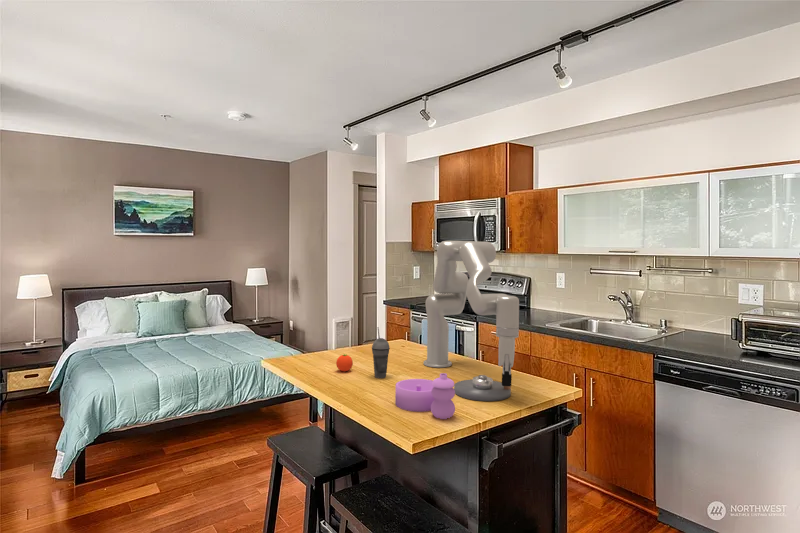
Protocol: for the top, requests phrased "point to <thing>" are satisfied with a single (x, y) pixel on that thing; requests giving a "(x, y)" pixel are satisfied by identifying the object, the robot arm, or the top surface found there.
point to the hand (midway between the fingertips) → (506, 385)
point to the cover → (482, 382)
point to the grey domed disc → (482, 391)
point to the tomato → (344, 363)
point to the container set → (427, 396)
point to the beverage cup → (380, 356)
